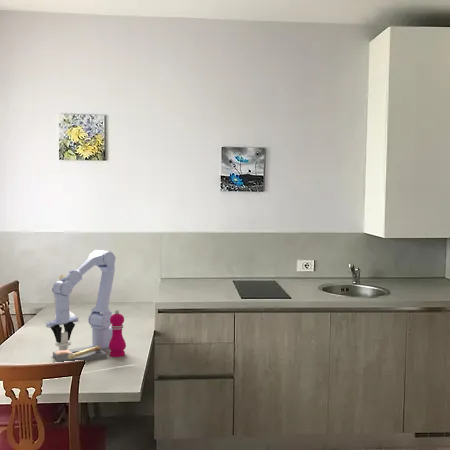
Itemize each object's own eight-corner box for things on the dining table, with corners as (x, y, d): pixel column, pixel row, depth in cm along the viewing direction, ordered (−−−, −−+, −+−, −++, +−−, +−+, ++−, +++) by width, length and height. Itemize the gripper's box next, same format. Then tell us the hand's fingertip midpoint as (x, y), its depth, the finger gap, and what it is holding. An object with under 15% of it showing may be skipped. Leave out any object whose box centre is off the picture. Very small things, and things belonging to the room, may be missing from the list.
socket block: (96, 351, 252) (96, 343, 252) (106, 359, 240) (106, 351, 240) (52, 357, 243) (52, 349, 242) (61, 366, 231) (61, 358, 230)
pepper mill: (110, 359, 240) (110, 312, 239) (107, 354, 247) (106, 309, 245) (127, 357, 243) (127, 311, 242) (123, 352, 250) (123, 307, 248)
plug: (68, 346, 246) (68, 329, 245) (73, 349, 240) (72, 332, 240) (53, 348, 242) (53, 331, 242) (57, 352, 237) (57, 334, 236)
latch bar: (97, 348, 244) (97, 345, 244) (101, 349, 243) (101, 345, 242) (67, 358, 229) (67, 355, 229) (71, 359, 228) (71, 355, 228)
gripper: (71, 305, 248) (71, 336, 249) (41, 311, 237) (42, 343, 238) (81, 307, 244) (81, 338, 245) (51, 313, 233) (52, 346, 233)
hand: (63, 341), depth 241 cm, fingers closed on plug, 4 cm apart
